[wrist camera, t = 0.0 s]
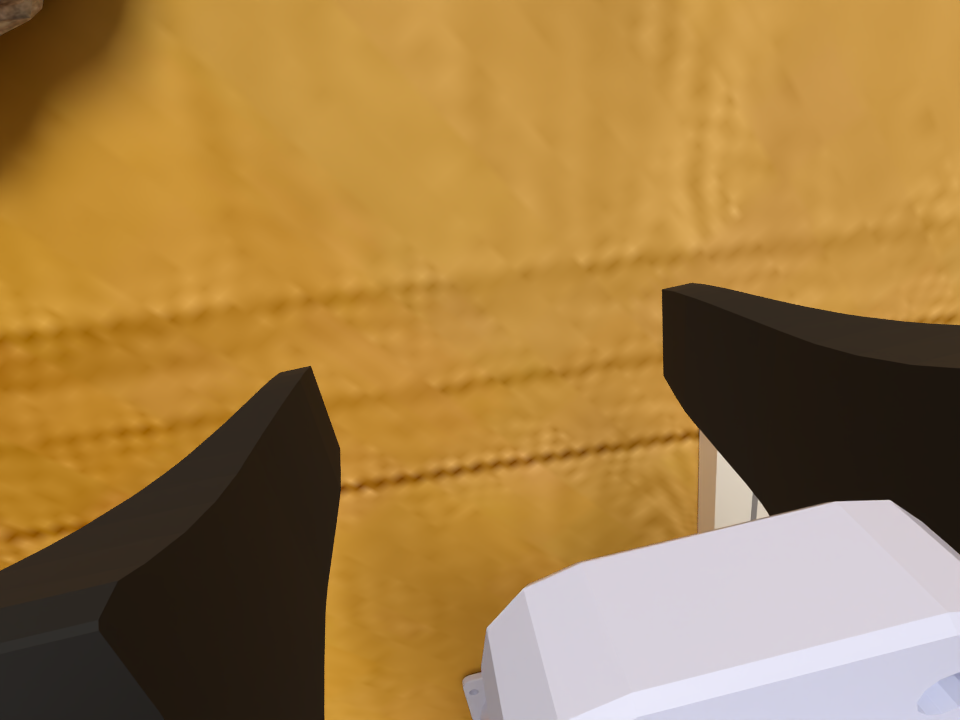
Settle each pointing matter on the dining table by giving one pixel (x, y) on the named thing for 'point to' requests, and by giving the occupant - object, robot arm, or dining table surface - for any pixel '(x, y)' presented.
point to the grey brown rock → (17, 13)
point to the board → (722, 492)
